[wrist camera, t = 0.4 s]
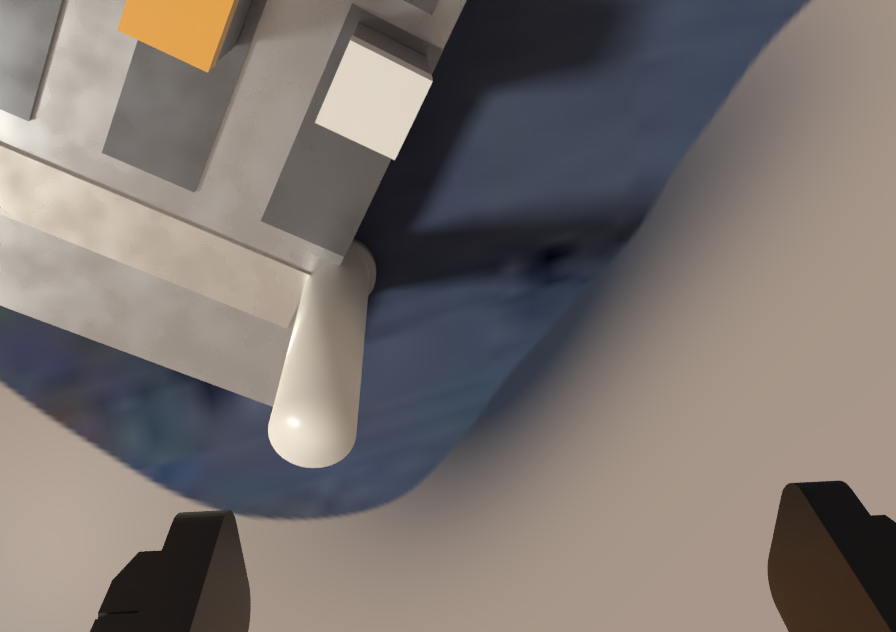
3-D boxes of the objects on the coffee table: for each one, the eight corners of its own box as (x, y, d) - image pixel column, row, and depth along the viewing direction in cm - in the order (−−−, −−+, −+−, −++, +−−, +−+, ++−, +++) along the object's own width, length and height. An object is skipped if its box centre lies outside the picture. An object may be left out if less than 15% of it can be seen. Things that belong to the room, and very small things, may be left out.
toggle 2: (357, 20, 32) (350, 39, 27) (428, 56, 33) (432, 81, 28) (326, 92, 33) (314, 122, 28) (395, 125, 34) (394, 160, 29)
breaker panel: (54, -323, 29) (17, -347, 26) (493, -75, 34) (501, -73, 31) (-77, 238, 38) (-115, 265, 36) (280, 375, 43) (272, 408, 40)
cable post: (320, 223, 39) (282, 373, 27) (388, 252, 40) (381, 411, 28) (292, 284, 41) (244, 453, 28) (358, 311, 41) (340, 487, 29)
